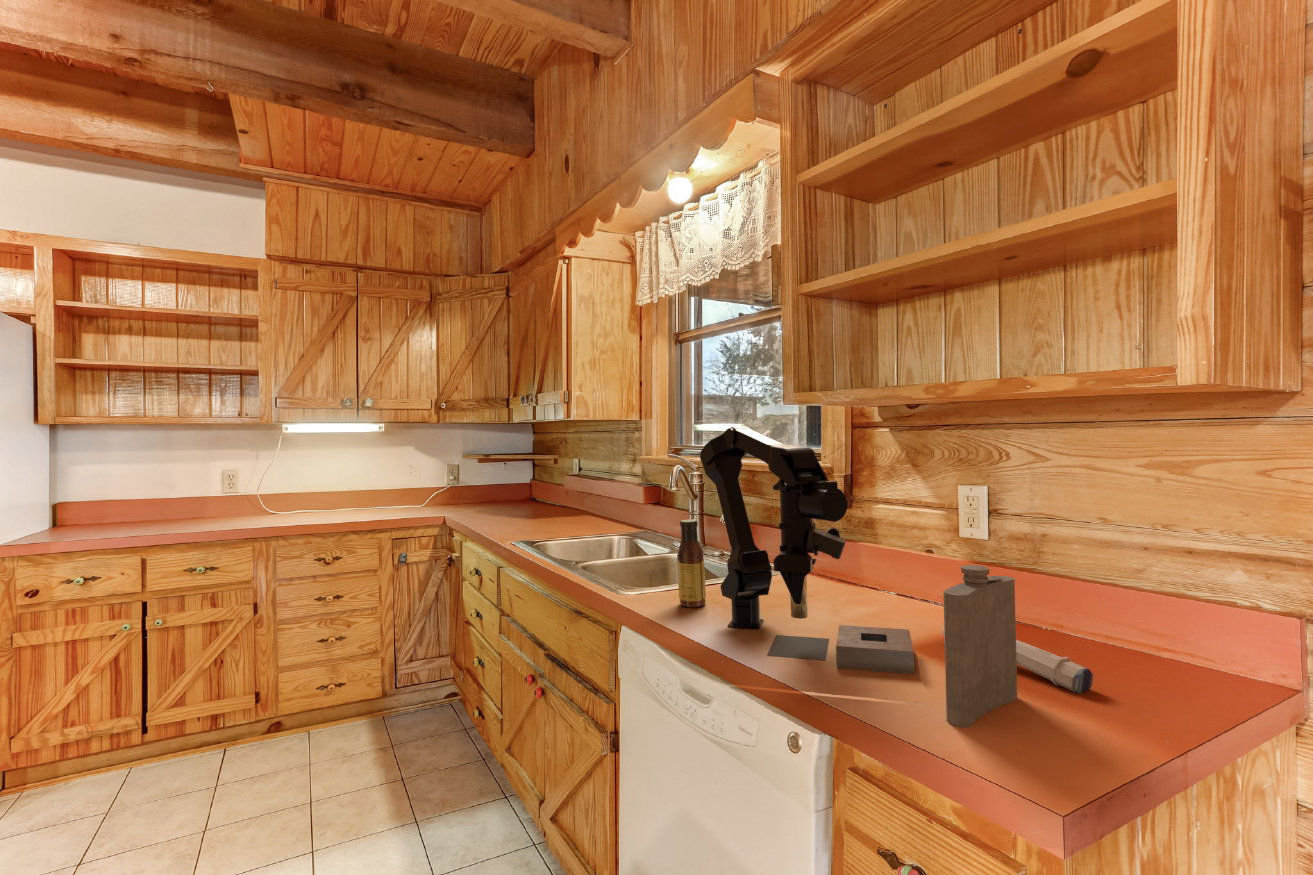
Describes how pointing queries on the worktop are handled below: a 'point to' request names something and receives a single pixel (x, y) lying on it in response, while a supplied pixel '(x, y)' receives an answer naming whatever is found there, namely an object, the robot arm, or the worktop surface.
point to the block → (875, 649)
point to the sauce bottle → (691, 566)
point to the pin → (800, 609)
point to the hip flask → (979, 645)
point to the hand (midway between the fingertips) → (798, 601)
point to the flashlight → (1053, 667)
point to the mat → (799, 647)
